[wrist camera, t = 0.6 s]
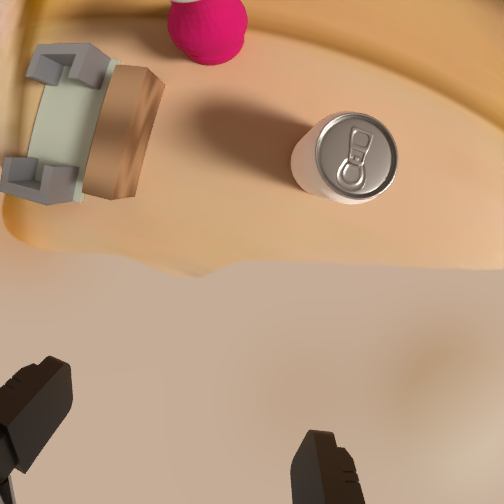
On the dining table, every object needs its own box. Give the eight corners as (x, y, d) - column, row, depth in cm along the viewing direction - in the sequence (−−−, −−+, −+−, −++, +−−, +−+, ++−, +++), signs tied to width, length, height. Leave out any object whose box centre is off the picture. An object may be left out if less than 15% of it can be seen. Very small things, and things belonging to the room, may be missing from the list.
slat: (138, 81, 29) (116, 64, 23) (165, 85, 29) (147, 67, 23) (109, 189, 32) (81, 192, 26) (135, 196, 32) (110, 200, 26)
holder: (59, 59, 28) (32, 44, 22) (120, 61, 28) (96, 43, 23) (26, 186, 31) (-6, 189, 26) (83, 202, 32) (52, 207, 26)
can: (282, 186, 31) (296, 190, 19) (298, 124, 30) (321, 92, 18) (344, 204, 31) (391, 218, 20) (360, 143, 30) (412, 126, 18)
